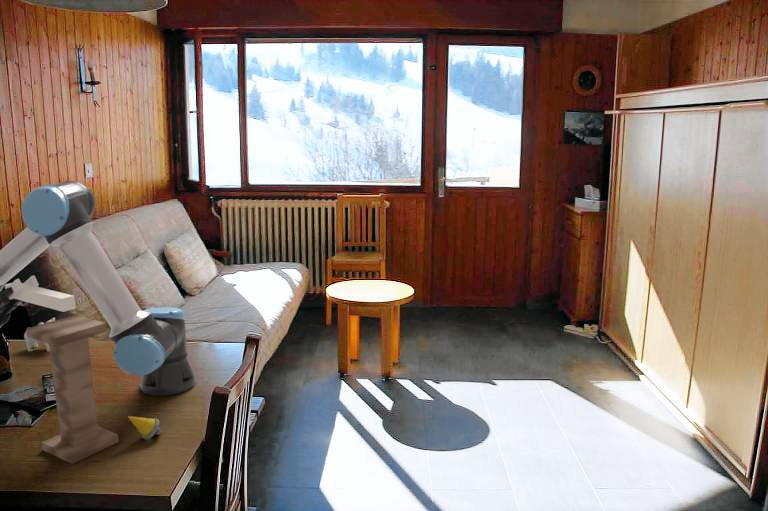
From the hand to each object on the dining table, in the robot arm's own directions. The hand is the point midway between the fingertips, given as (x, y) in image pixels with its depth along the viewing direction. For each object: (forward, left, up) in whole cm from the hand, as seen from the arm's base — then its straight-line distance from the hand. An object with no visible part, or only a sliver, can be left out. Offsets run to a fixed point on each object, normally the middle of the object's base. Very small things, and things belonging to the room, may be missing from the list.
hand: (27, 282), depth 157 cm
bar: (-2, +4, -4) cm, 6 cm away
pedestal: (-8, +11, -38) cm, 41 cm away
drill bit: (-23, +14, -39) cm, 47 cm away
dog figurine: (+6, -66, -39) cm, 77 cm away
